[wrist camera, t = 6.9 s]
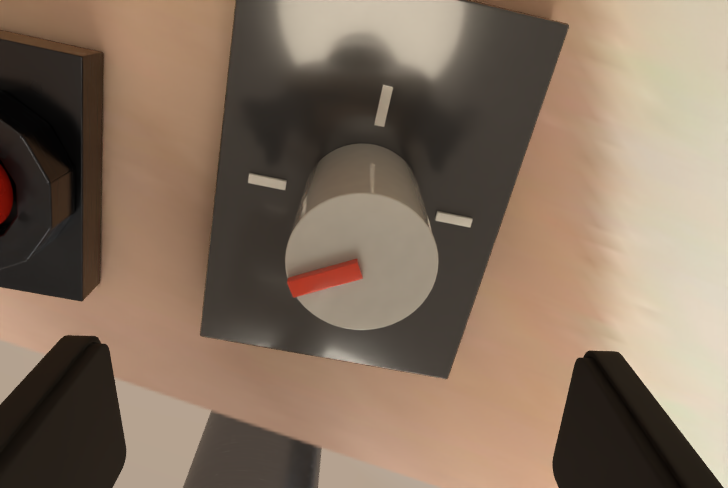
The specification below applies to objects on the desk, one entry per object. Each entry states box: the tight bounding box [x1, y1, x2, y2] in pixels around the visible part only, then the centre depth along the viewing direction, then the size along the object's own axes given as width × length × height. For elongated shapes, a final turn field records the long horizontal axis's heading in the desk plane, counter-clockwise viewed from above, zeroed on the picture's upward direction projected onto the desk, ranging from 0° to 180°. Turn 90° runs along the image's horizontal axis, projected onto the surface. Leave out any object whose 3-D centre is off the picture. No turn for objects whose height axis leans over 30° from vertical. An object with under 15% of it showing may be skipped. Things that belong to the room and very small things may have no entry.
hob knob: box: [285, 143, 439, 330], centre depth 18 cm, size 4×4×6 cm
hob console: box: [200, 0, 569, 379], centre depth 21 cm, size 15×11×2 cm
